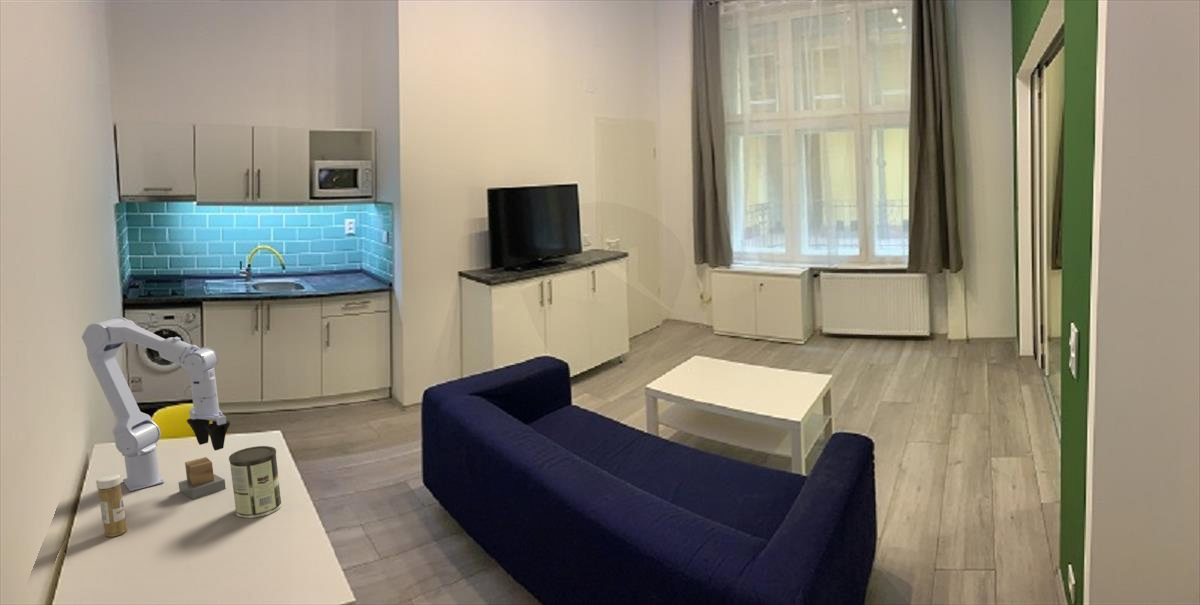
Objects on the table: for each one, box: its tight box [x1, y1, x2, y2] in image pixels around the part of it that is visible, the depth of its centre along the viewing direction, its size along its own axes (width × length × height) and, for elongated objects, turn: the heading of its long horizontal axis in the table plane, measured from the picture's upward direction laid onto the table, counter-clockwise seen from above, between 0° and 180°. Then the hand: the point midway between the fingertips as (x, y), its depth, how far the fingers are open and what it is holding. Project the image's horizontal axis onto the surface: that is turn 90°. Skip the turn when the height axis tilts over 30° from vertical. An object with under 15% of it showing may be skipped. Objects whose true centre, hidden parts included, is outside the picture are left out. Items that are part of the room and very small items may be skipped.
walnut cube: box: [184, 456, 214, 486], centre depth 195 cm, size 5×5×5 cm
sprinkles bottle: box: [95, 473, 128, 538], centre depth 172 cm, size 5×5×13 cm
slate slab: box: [178, 473, 227, 500], centre depth 195 cm, size 8×8×3 cm
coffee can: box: [228, 445, 282, 519], centre depth 182 cm, size 10×10×14 cm
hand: (211, 446), depth 197 cm, fingers open, 7 cm apart
